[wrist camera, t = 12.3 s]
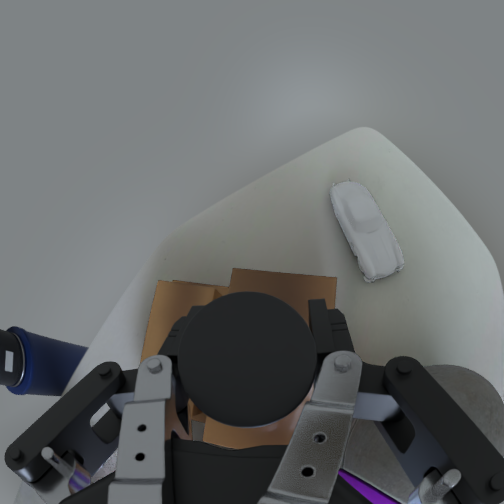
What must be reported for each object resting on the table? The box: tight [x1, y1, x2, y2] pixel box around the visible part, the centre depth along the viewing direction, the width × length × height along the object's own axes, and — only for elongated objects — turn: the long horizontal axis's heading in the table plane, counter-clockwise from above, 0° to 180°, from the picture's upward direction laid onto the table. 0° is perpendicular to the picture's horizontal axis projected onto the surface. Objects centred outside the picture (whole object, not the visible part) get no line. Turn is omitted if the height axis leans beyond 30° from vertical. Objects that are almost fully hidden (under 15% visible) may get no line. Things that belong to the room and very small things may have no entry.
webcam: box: [338, 365, 504, 504], centre depth 14 cm, size 13×13×15 cm
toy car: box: [330, 179, 404, 283], centre depth 28 cm, size 5×12×4 cm, turn 16°
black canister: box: [178, 291, 317, 428], centre depth 12 cm, size 4×4×9 cm
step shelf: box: [140, 268, 337, 449], centre depth 22 cm, size 16×14×10 cm
